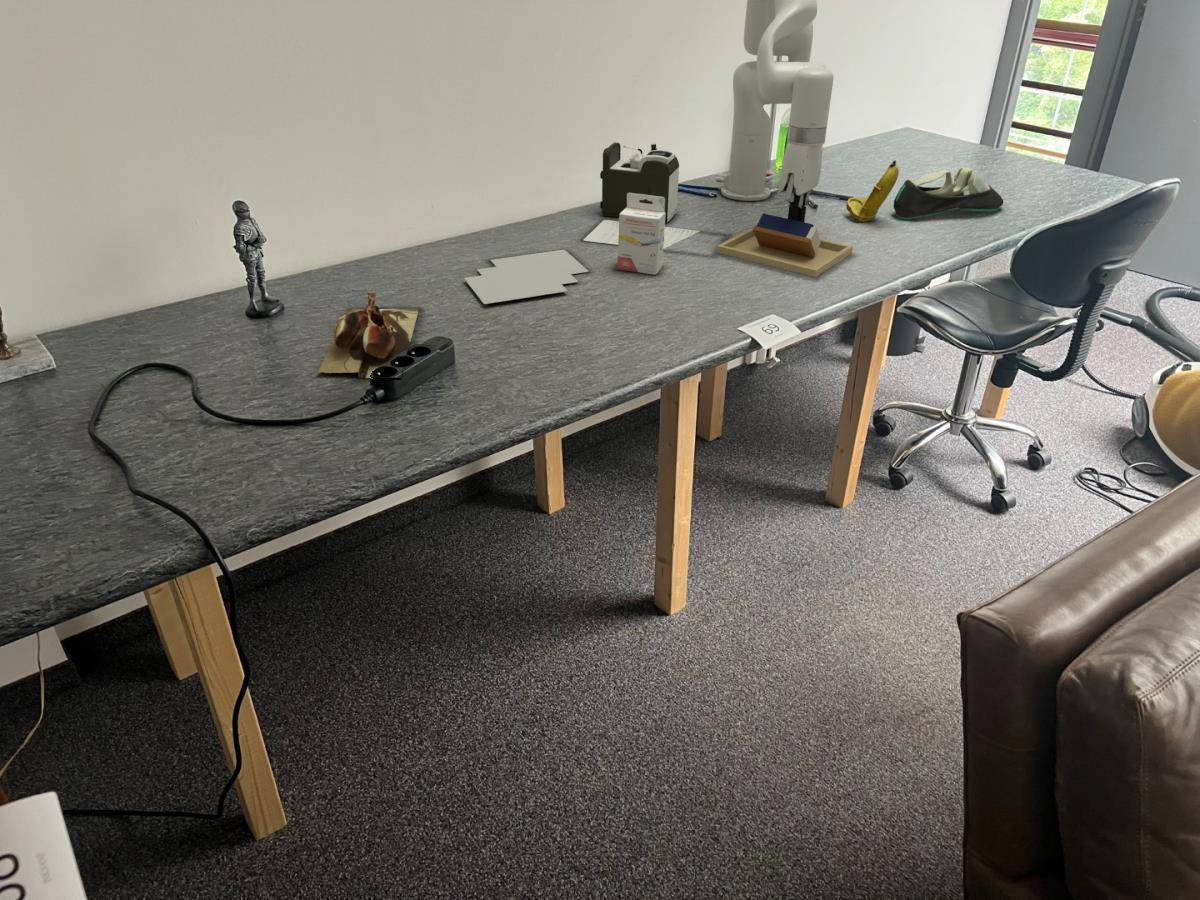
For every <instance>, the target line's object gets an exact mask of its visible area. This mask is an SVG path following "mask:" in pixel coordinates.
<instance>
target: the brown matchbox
mask: <svg viewBox="0 0 1200 900" xmlns="http://www.w3.org/2000/svg"><path fill="white" fill-rule="evenodd" d="M756 225H757V226H756ZM756 225H754V226H753V227H754V228H753V232H754V234H755V237H756V239H757V241H758V244H759V245H760V246H764V247H768V248H772V249H777V250H781V251H785V252H789V253H793V254H797V255H801V256H805V257H810V258H814V256H815V253H816V251H817V249H818V247H819V245H820V243H821V241H820V239H821V238H820V235H819V232H818V229H817V227H814V224H813V223H809V222H805V221H804V222H801V221H796V220H791V219H788V217H782V216H777V215H772V214H768V213H764V212H763V213H762V214H761V216H760V218H759V220H758V221H757V224H756Z"/></svg>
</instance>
